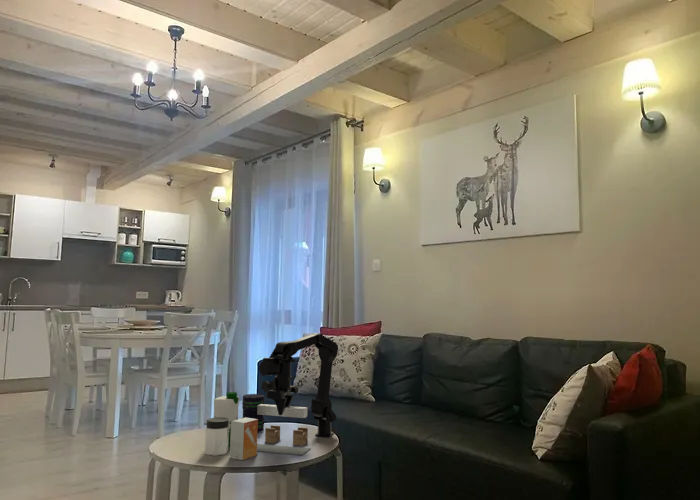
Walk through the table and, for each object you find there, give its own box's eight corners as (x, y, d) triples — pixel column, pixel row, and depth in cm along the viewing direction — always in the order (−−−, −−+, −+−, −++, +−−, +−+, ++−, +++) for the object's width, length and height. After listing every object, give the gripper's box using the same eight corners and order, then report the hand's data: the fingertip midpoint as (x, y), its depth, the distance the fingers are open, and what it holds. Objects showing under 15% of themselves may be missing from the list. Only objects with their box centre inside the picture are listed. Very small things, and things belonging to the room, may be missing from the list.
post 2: (298, 441, 215) (298, 427, 215) (307, 441, 214) (307, 427, 214) (292, 444, 209) (293, 430, 210) (302, 445, 208) (302, 431, 209)
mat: (253, 444, 209) (253, 443, 209) (310, 449, 202) (310, 448, 202) (242, 450, 200) (242, 449, 200) (302, 455, 194) (302, 454, 194)
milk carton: (231, 447, 204) (232, 394, 206) (209, 446, 206) (211, 393, 208) (240, 442, 212) (241, 391, 215) (219, 440, 214) (221, 390, 217)
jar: (208, 457, 191) (209, 422, 192) (201, 451, 198) (202, 418, 199) (232, 453, 196) (233, 420, 197) (224, 448, 203) (225, 416, 204)
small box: (242, 460, 187) (244, 422, 188) (229, 458, 190) (230, 420, 191) (257, 455, 194) (258, 418, 195) (243, 452, 197) (244, 417, 198)
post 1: (271, 438, 218) (271, 425, 218) (280, 439, 217) (280, 425, 217) (265, 442, 212) (265, 428, 213) (274, 443, 211) (274, 429, 212)
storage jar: (248, 427, 239) (249, 393, 241) (268, 428, 236) (268, 394, 238) (237, 431, 230) (238, 396, 232) (256, 433, 227) (257, 398, 228)
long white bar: (261, 412, 214) (261, 404, 214) (307, 416, 208) (307, 407, 208) (257, 414, 210) (257, 405, 211) (304, 418, 205) (304, 408, 205)
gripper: (274, 370, 222) (273, 409, 220) (254, 375, 204) (253, 417, 202) (299, 372, 219) (298, 410, 217) (281, 377, 201) (279, 419, 199)
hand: (282, 414), depth 209 cm, fingers closed on long white bar, 3 cm apart
